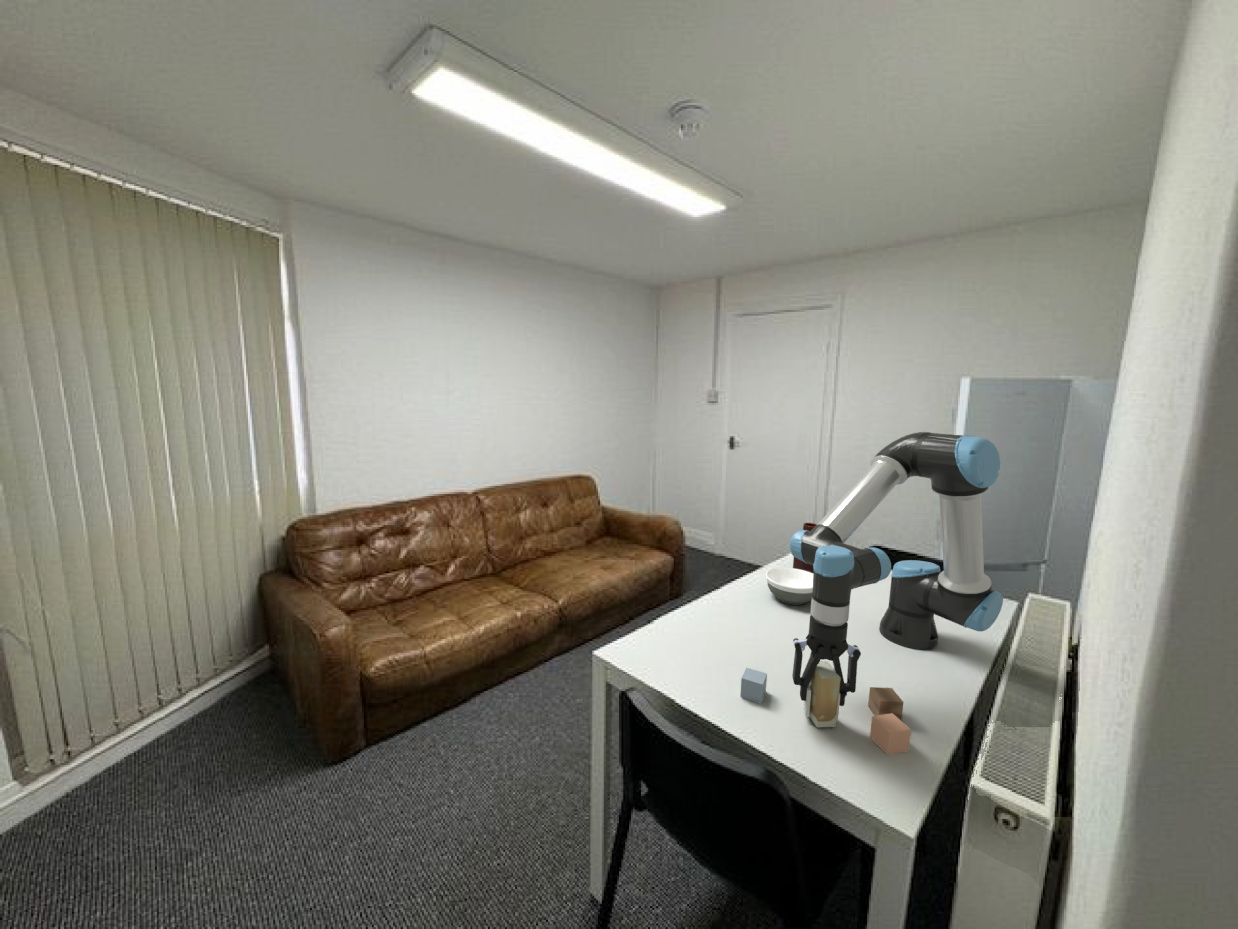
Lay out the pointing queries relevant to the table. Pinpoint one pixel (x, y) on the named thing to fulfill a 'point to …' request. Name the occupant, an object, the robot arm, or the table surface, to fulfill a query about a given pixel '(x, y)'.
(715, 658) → the table surface
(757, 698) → the slate cube
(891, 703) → the walnut cube
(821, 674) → the skincare box
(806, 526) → the vase
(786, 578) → the bowl
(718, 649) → the table surface
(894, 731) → the terracotta cube
